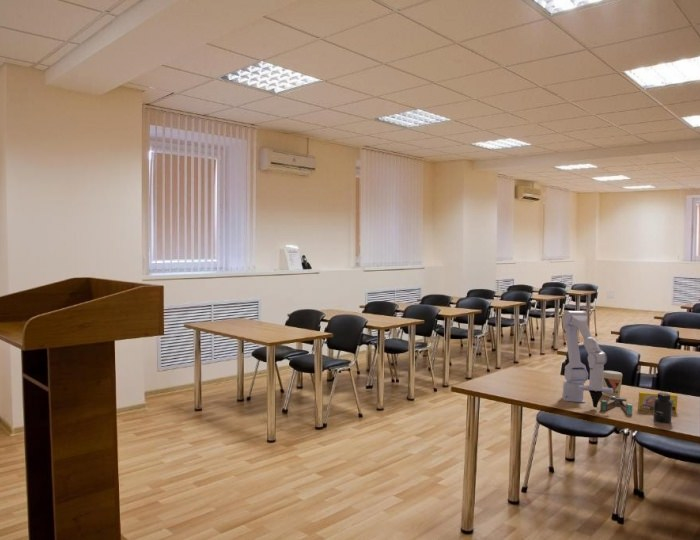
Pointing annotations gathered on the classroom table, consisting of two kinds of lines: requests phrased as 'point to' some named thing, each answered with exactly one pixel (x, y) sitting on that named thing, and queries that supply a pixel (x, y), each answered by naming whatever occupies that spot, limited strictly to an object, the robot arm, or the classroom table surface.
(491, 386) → the classroom table surface
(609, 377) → the coffee cup
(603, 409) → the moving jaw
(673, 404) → the candy box
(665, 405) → the supplement bottle
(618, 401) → the tongs base
